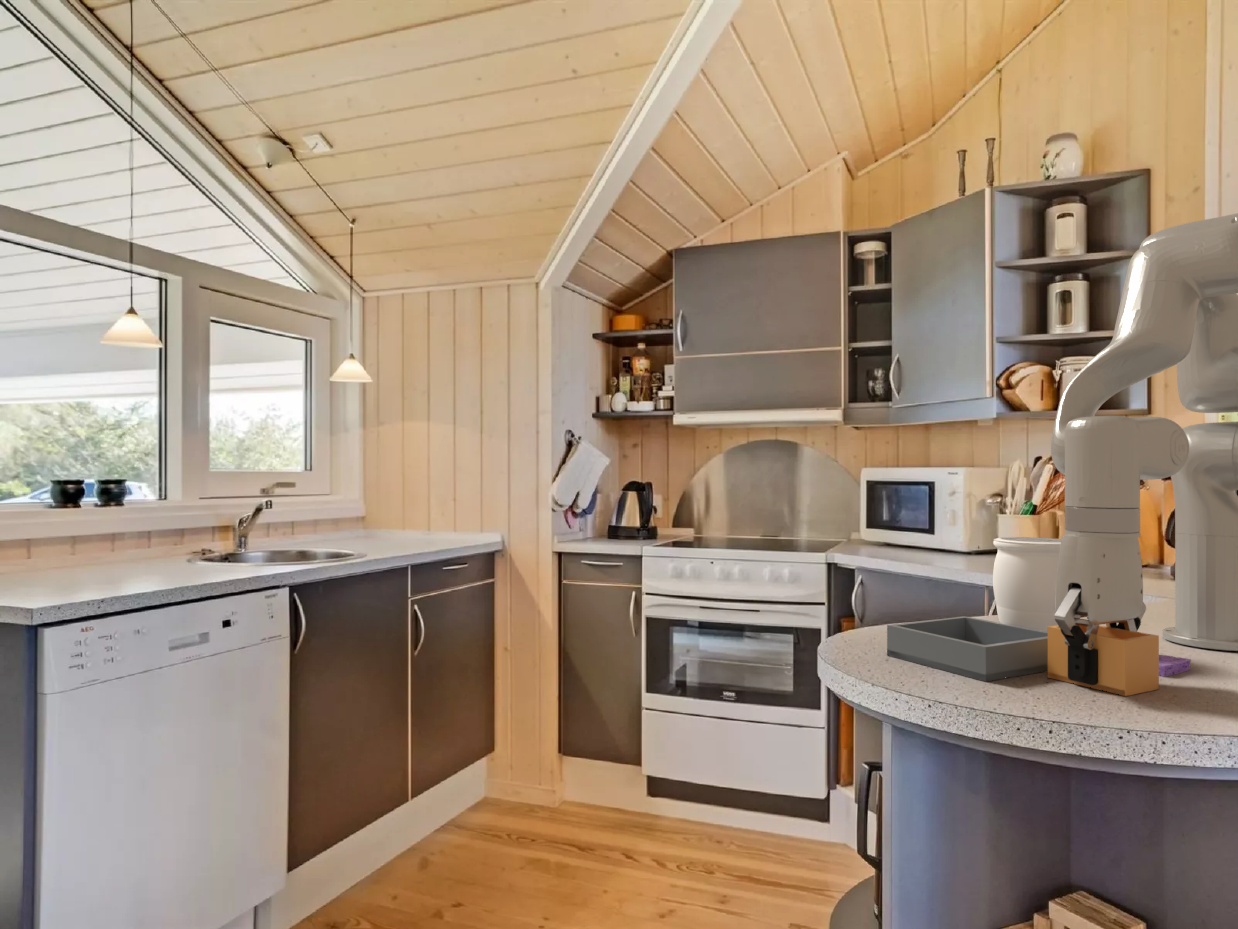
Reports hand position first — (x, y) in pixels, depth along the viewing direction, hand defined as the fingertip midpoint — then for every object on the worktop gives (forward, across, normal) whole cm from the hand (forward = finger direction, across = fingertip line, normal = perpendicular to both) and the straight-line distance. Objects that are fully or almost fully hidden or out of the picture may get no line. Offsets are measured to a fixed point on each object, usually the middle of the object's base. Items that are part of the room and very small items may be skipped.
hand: (1101, 677), depth 93 cm
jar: (+1, -11, -16) cm, 19 cm away
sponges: (+2, -13, -5) cm, 14 cm away
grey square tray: (+1, +4, -14) cm, 15 cm away
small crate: (+1, 0, 0) cm, 1 cm away
